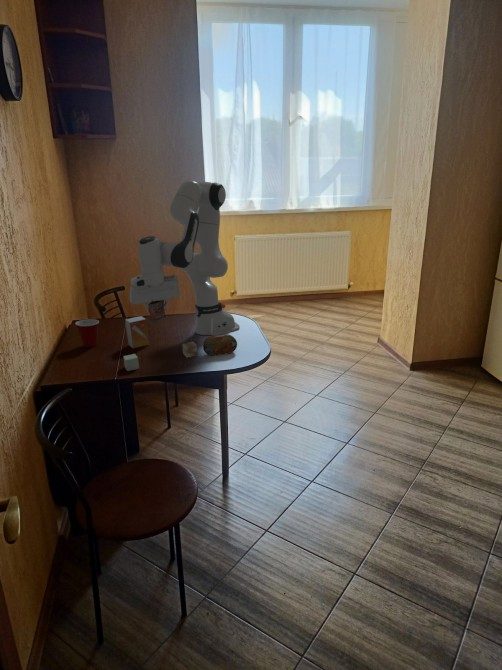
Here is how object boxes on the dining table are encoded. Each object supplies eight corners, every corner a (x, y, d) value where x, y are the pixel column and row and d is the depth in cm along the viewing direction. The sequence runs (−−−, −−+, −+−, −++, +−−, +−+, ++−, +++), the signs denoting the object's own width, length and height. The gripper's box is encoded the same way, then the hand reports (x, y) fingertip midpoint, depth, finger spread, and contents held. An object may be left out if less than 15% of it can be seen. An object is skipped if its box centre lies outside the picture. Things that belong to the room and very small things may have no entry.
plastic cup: (107, 344, 225) (103, 320, 221) (86, 351, 218) (82, 326, 213) (95, 339, 232) (91, 316, 228) (75, 345, 225) (70, 322, 220)
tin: (204, 356, 204) (202, 339, 202) (203, 354, 207) (201, 336, 204) (237, 352, 207) (236, 335, 204) (236, 350, 210) (235, 332, 207)
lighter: (154, 322, 190) (151, 299, 186) (148, 321, 192) (145, 298, 188) (167, 316, 196) (165, 293, 193) (161, 315, 198) (158, 293, 194)
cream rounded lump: (193, 351, 211) (192, 341, 209) (197, 355, 206) (196, 345, 205) (183, 354, 209) (182, 343, 207) (186, 358, 204) (185, 347, 203)
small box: (133, 349, 217) (129, 322, 213) (128, 345, 222) (124, 319, 218) (149, 344, 221) (146, 318, 217) (144, 341, 226) (141, 315, 222)
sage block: (136, 364, 200) (135, 353, 198) (139, 368, 196) (137, 357, 194) (124, 367, 198) (123, 356, 196) (127, 371, 194) (125, 360, 192)
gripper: (175, 272, 194) (178, 304, 199) (126, 280, 186) (131, 313, 191) (180, 275, 189) (183, 308, 194) (129, 283, 181) (134, 317, 186)
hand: (157, 310), depth 193 cm, fingers closed on lighter, 5 cm apart
